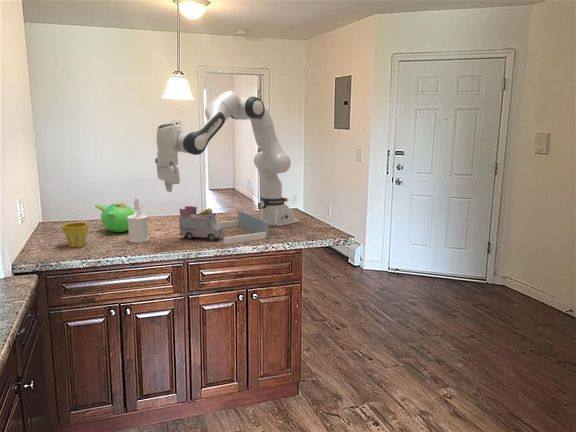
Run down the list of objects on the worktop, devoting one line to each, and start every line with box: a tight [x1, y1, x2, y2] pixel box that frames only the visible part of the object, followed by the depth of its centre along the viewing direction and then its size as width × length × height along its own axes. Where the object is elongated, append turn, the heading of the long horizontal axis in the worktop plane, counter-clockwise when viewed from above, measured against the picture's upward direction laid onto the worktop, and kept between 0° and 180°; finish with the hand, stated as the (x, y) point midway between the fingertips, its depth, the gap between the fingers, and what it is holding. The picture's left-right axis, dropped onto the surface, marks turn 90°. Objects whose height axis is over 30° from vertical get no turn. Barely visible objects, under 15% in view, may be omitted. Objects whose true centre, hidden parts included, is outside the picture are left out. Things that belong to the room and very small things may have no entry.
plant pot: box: [62, 221, 89, 249], centre depth 212 cm, size 10×10×10 cm
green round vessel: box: [94, 201, 135, 233], centre depth 237 cm, size 18×17×15 cm
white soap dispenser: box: [127, 197, 150, 244], centre depth 221 cm, size 10×9×20 cm
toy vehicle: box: [178, 205, 225, 242], centre depth 226 cm, size 9×20×15 cm, turn 78°
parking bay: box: [216, 210, 269, 246], centre depth 236 cm, size 23×30×8 cm
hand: (169, 191), depth 215 cm, fingers closed
